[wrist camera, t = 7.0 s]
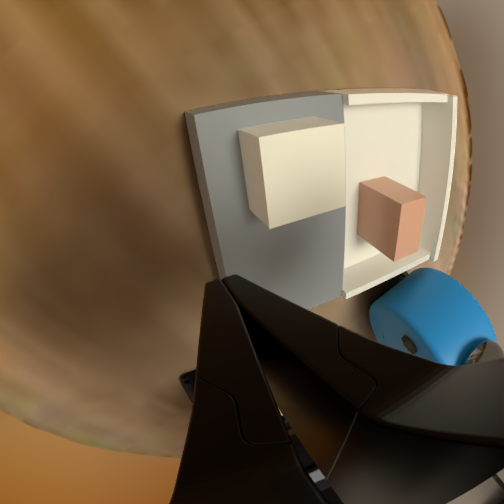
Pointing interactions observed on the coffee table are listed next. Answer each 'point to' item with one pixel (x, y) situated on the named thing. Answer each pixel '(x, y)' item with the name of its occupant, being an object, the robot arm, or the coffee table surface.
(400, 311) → the alarm clock
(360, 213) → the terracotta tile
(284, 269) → the slate plate
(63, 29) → the coffee table surface
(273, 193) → the cream block
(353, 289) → the tray
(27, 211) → the coffee table surface
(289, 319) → the robot arm
